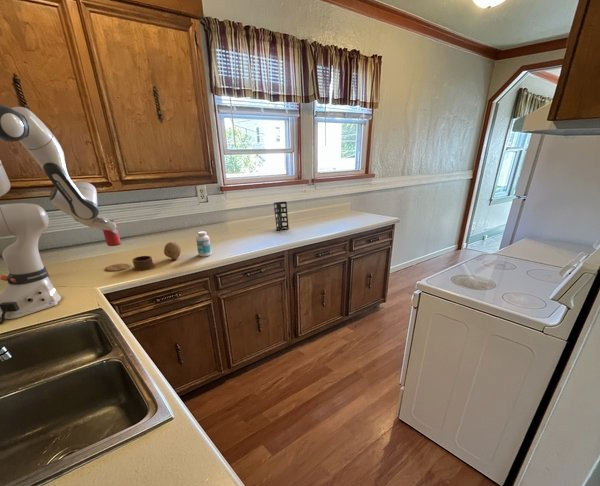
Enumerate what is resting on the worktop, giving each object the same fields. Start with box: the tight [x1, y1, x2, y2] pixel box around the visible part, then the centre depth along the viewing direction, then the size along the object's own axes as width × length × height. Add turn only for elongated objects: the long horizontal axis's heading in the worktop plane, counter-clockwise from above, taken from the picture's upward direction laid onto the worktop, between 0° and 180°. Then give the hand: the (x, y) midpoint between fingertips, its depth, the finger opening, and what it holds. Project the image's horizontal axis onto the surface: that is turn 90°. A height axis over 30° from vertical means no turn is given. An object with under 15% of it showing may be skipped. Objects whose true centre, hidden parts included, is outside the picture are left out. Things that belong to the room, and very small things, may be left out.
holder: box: [273, 201, 289, 231], centre depth 249 cm, size 11×8×20 cm
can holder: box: [131, 255, 155, 271], centre depth 174 cm, size 9×9×5 cm
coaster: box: [105, 263, 130, 272], centre depth 175 cm, size 11×11×1 cm
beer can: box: [102, 219, 122, 247], centre depth 166 cm, size 7×7×12 cm
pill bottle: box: [195, 230, 212, 257], centre depth 191 cm, size 8×7×14 cm
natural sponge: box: [163, 241, 182, 260], centre depth 184 cm, size 9×9×10 cm
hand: (111, 231), depth 166 cm, fingers closed on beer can, 6 cm apart
